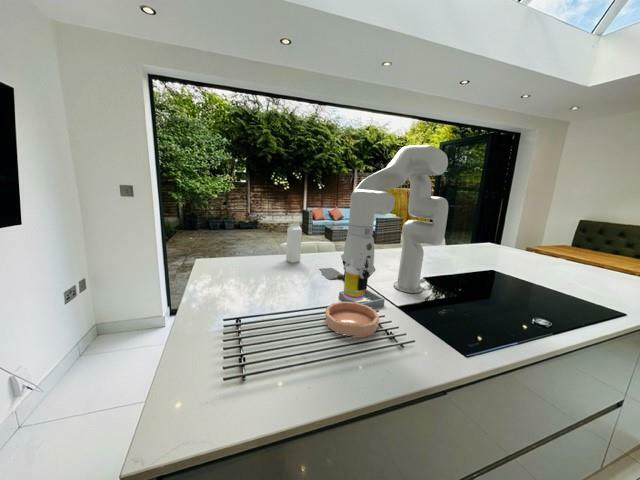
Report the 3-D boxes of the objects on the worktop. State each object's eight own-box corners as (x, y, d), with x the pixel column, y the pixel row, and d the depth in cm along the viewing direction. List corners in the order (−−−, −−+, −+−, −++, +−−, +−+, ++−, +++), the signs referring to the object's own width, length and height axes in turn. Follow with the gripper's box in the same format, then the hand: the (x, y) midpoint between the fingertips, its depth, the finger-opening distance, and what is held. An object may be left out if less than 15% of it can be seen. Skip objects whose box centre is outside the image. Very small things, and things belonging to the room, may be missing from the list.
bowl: (355, 307, 101) (356, 298, 100) (388, 329, 86) (389, 319, 86) (316, 316, 92) (316, 306, 91) (345, 342, 78) (346, 331, 77)
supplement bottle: (363, 303, 83) (367, 263, 81) (341, 299, 85) (345, 260, 82) (364, 294, 90) (368, 257, 87) (344, 291, 91) (347, 255, 88)
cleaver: (361, 288, 120) (361, 284, 120) (342, 291, 116) (342, 286, 116) (331, 269, 146) (331, 265, 146) (314, 270, 142) (315, 266, 142)
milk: (285, 260, 155) (287, 222, 150) (294, 259, 159) (296, 222, 154) (291, 263, 150) (293, 224, 146) (300, 261, 154) (302, 223, 150)
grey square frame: (363, 293, 115) (363, 287, 114) (383, 305, 104) (384, 299, 104) (338, 297, 108) (339, 291, 108) (358, 311, 98) (359, 304, 97)
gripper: (389, 236, 77) (382, 294, 81) (352, 226, 92) (347, 275, 96) (369, 237, 74) (362, 297, 77) (334, 226, 88) (330, 278, 92)
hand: (354, 285), depth 86 cm, fingers closed on supplement bottle, 6 cm apart
